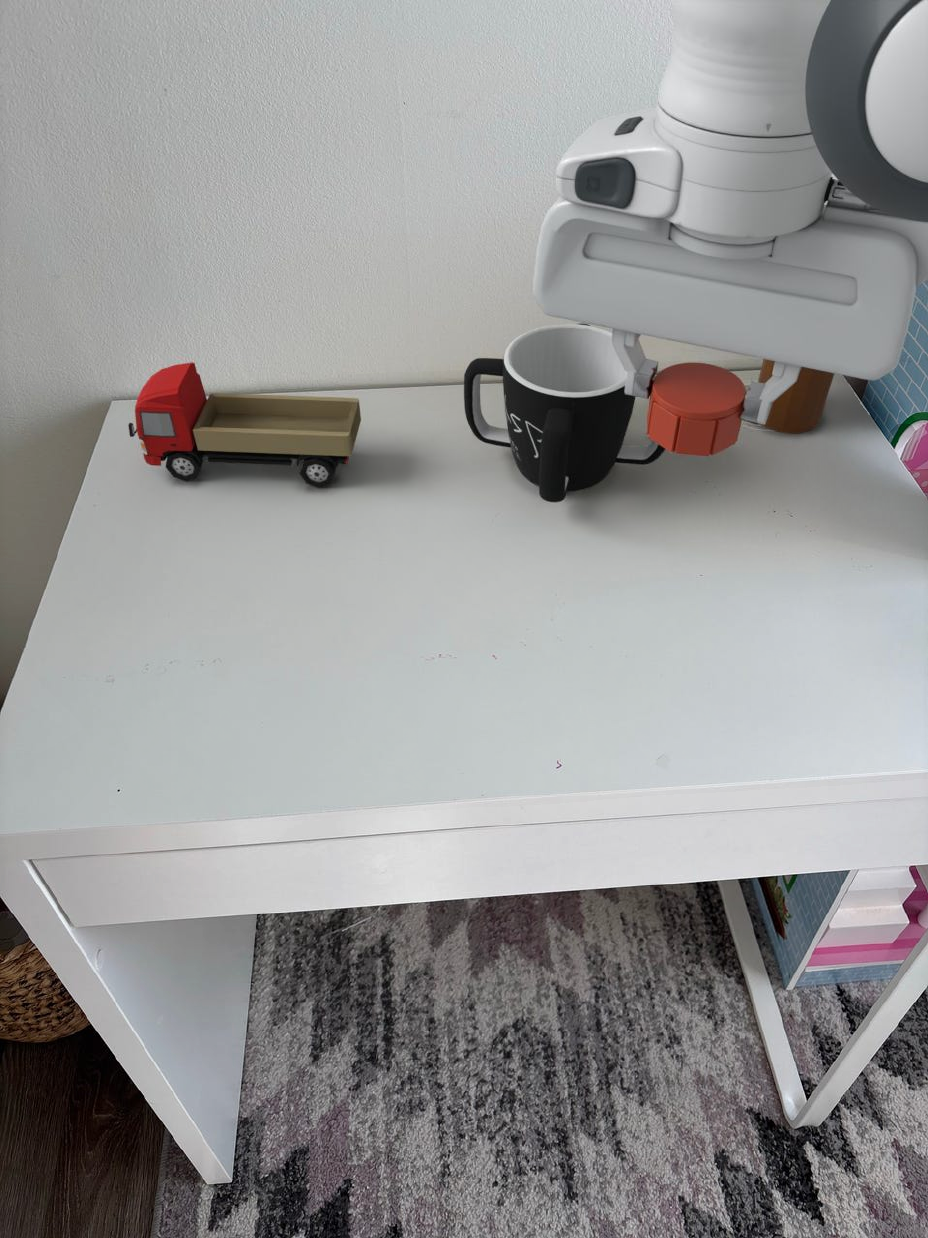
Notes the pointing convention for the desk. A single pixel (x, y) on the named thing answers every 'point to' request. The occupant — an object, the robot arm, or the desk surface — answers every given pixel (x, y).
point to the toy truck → (241, 427)
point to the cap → (695, 409)
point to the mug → (560, 408)
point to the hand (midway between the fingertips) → (695, 404)
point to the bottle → (798, 400)
